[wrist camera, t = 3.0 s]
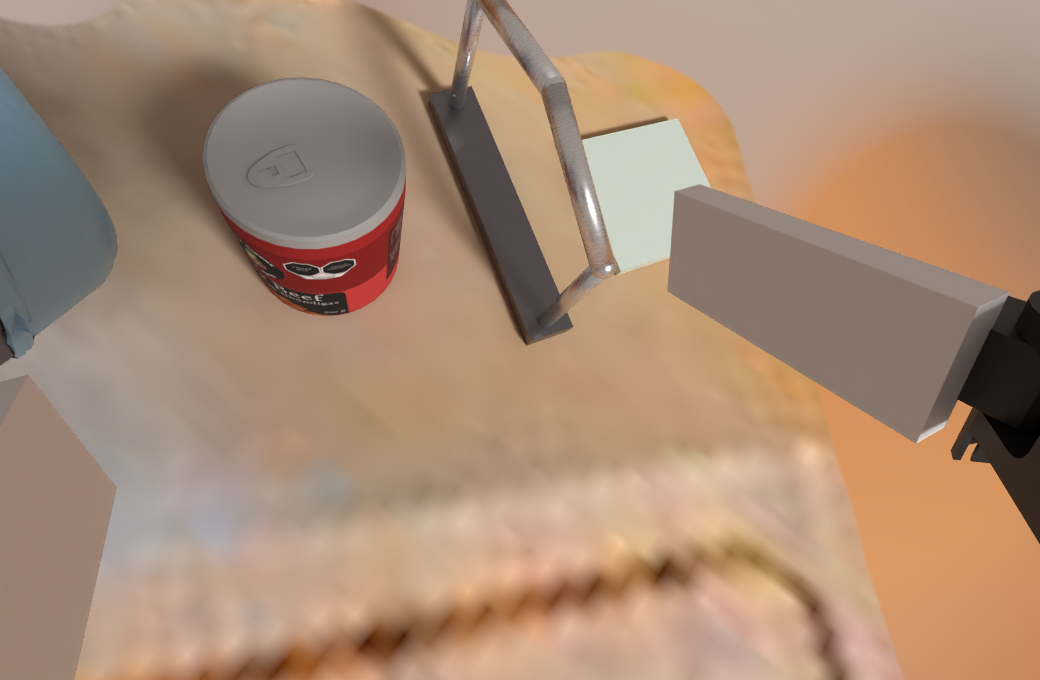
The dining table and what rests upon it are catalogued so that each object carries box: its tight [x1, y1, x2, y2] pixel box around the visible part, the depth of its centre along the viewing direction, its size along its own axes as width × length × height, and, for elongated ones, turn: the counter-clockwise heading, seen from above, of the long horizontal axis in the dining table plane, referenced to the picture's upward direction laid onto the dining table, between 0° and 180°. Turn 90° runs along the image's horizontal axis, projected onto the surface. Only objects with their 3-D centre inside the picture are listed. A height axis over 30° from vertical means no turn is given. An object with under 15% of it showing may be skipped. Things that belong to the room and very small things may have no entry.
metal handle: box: [429, 0, 616, 345], centre depth 29 cm, size 3×18×13 cm, turn 23°
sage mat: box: [582, 118, 711, 275], centre depth 38 cm, size 10×10×1 cm
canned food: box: [202, 77, 406, 316], centre depth 27 cm, size 8×8×11 cm
